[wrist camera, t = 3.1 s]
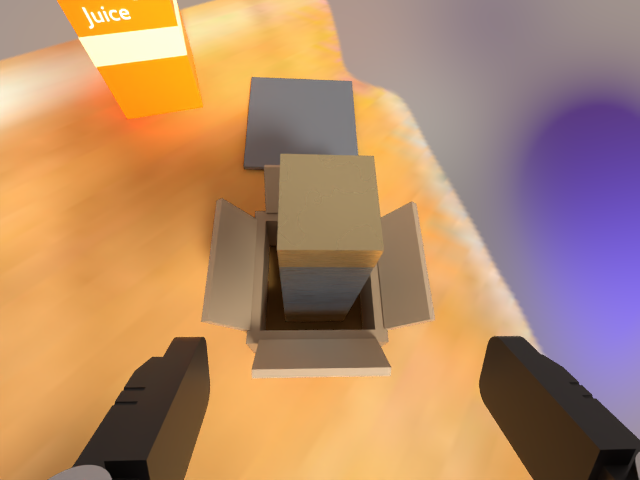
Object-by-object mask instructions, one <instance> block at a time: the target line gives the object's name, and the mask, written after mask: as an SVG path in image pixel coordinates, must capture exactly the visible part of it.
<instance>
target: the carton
mask: <svg viewBox="0 0 640 480" xmlns="http://www.w3.org/2000/svg"><path fill="white" fill-rule="evenodd" d="M264 178H265V203H266V211H255V218H254V217H252V216H251V215H249V214H247V213H246V212H244V211H242V210H241V209H239V208H237V207H236V206H234V205H233V204H231V203H229V202H228V201H226V200H224V199H223V198H221V199H219V200H217V202H216V210H215V218H214V226H213V234H212V242H211V250H210V257H209V265H208V273H207V281H206V289H205V297H204V305H203V313H202V321H201V322H205V323H209V324H214V325H219V326H223V327H228V328H232V329H237V330H241V331H247V340H246V344H247V345H248V346H249V348H250V349H251V350H252V351H253V352H254V353H256V354H255V358H254V363H253V367H252V378H296V377H353V376H391V366H390V364H389V362H388V360H387V358H386V356H385V354H384V352H383V350H382V348H381V347H382V346H383V345H385V344H386V343H388V342H389V341H388V331H387V330H392V329H396V328H401V327H406V326H411V325H415V324H420V323H425V322H429V321H434V320H435V315H434V309H433V303H432V297H431V291H430V285H429V279H428V272H427V266H426V260H425V254H424V248H423V242H422V236H421V230H420V223H419V217H418V211H417V205H416V203H414V202H410V203H408V204H406V205H404V206H402V207H400V208H398V209H396V210H395V211H393V212H391V213H389V214H387V215H385V216H383V217H381V227H382V236H383V245H384V252H383V253H382V255H381V257H380V258H379V260H378V262H377V264H376V265H375V267H374V269H373V270H372V272H371V274H370V276H369V277H368V279H367V281H366V283H365V284H364V286H363V288H362V289H361V291H360V305H361V319H362V330H266V315H267V294H268V272H269V251H270V246H277V235H278V207H279V179H280V165H264Z"/></svg>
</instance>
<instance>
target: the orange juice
mask: <svg viewBox="0 0 640 480" xmlns="http://www.w3.org/2000/svg"><path fill="white" fill-rule="evenodd" d="M57 1H58V3H59V4H60V6H61V8H62V10H63V11H64V13H65V15H66V16H67V18H68V20H69V21H70V23H71V25H72V27H73V28H74V30H75V32H76V33H77V35H78V37H79V40H80V41H81V43H82V45H83V46H84V48H85V50H86V51H87V53H88V55H89V56H90V58H91V60H92V61H93V63H94V65H95V67H97V69H98V70H99V72H100V74H101V75H102V77H103V79H104V81H105V82H106V84H107V86H108V87H109V89H110V91H111V92H112V94H113V96H114V97H115V99H116V101H117V102H118V104H119V106H120V108H121V109H122V111H123V113H124V114H125V116H126V118H127V119H132V118H139V117H145V116H151V115H158V114H164V113H170V112H177V111H183V110H189V109H195V108H202V107H203V103H202V99H201V94H200V89H199V84H198V79H197V75H196V70H195V65H194V60H193V55H192V51H191V48H190V44H189V41H188V37H187V34H186V31H185V27H184V24H183V21H182V17H181V14H180V10H179V7H178V4H177V0H57Z"/></svg>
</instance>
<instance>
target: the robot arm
mask: <svg viewBox="0 0 640 480" xmlns="http://www.w3.org/2000/svg"><path fill="white" fill-rule="evenodd" d="M479 388H480V393H481V397H482V400H483V402H484V404H485V405H486V407H487V408H488V410H489V412H490V413H491V415H492V416H493V418H494V419H495V421H496V422H497V424H498V425H499V427H500V429H501V430H502V432H503V433H504V435H505V436H506V438H507V439H508V441H509V443H510V444H511V446H512V447H513V449H514V450H515V452H516V453H517V455H518V457H519V458H520V460H521V461H522V463H523V464H524V466H525V467H526V469H527V471H528V472H529V474H530V475H531V477H532V478H533V480H640V440H639V439H638V438H637V437H636V436H635V435H634V434H633V433H632V432H631V431H630V430H629V429H627V428H626V427H625V426H624V425H623V424H622V423H621V422H620V421H619V420H618V419H617V418H616V417H615V416H614V415H613V414H612V413H611V412H610V411H609V410H608V409H606V408H605V407H604V406H603V405H602V404H601V403H600V402H599V401H598V400H597V399H593V397H592V394H591V393H590V392H589V391H587V390H586V389H585V388H584V387H583V386H582V385H579V382H578V381H577V380H576V379H575V378H574V377H573V376H572V375H571V374H570V373H569V372H567V371H566V370H565V369H564V368H563V367H562V366H560V365H559V364H557V363H555V362H554V361H552V360H551V359H549V358H547V357H546V356H544V355H541V354H540V353H539V352H538V351H537V350H536V349H535V348H534V347H533V346H532V345H531V344H530V343H529V342H528V341H527V340H525V339H524V338H523V337H520V336H494V337H492V338H490V340H489V342H488V345H487V350H486V354H485V358H484V363H483V367H482V371H481V375H480V380H479ZM209 394H210V378H209V367H208V356H207V345H206V340H205V338H204V337H176V338H174V339H173V341H172V342H171V344H170V346H169V348H168V349H167V351H166V353H165V355H164V356H163V357H152V358H150V359H149V360H148V361H147V362H145V363H144V364H143V365H142V366H140V367H139V368H138V369H137V370H136V371H135V372H134V373H133V375H132V376H131V378H130V379H129V381H128V382H127V384H126V386H125V387H124V391H122V392H121V393H120V395H119V396H118V398H117V399H116V401H115V405H113V406H112V407H111V409H110V410H109V412H108V413H107V415H106V416H105V418H104V419H103V421H102V422H101V424H100V425H99V427H98V429H97V430H96V432H95V433H94V435H93V436H92V438H91V439H90V441H89V442H88V444H87V445H86V447H85V449H84V450H83V452H82V453H81V455H80V456H79V458H78V459H77V461H76V462H75V464H74V465H73V467H72V468H70V469H67V470H65V471H63V472H60V473H58V474H56V475H55V476H53V477H51V478H50V479H48V480H184V478H185V475H186V472H187V469H188V465H189V462H190V459H191V456H192V453H193V450H194V447H195V444H196V440H197V437H198V434H199V431H200V428H201V425H202V422H203V419H204V415H205V412H206V409H207V406H208V401H209Z"/></svg>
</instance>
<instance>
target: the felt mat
mask: <svg viewBox="0 0 640 480" xmlns="http://www.w3.org/2000/svg"><path fill="white" fill-rule="evenodd" d="M280 154H317V155H355V156H358V149H357V137H356V125H355V114H354V102H353V90H352V81H333V80H309V79H285V78H260V77H252V81H251V92H250V102H249V113H248V124H247V135H246V146H245V157H244V169H264V165H280Z"/></svg>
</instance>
